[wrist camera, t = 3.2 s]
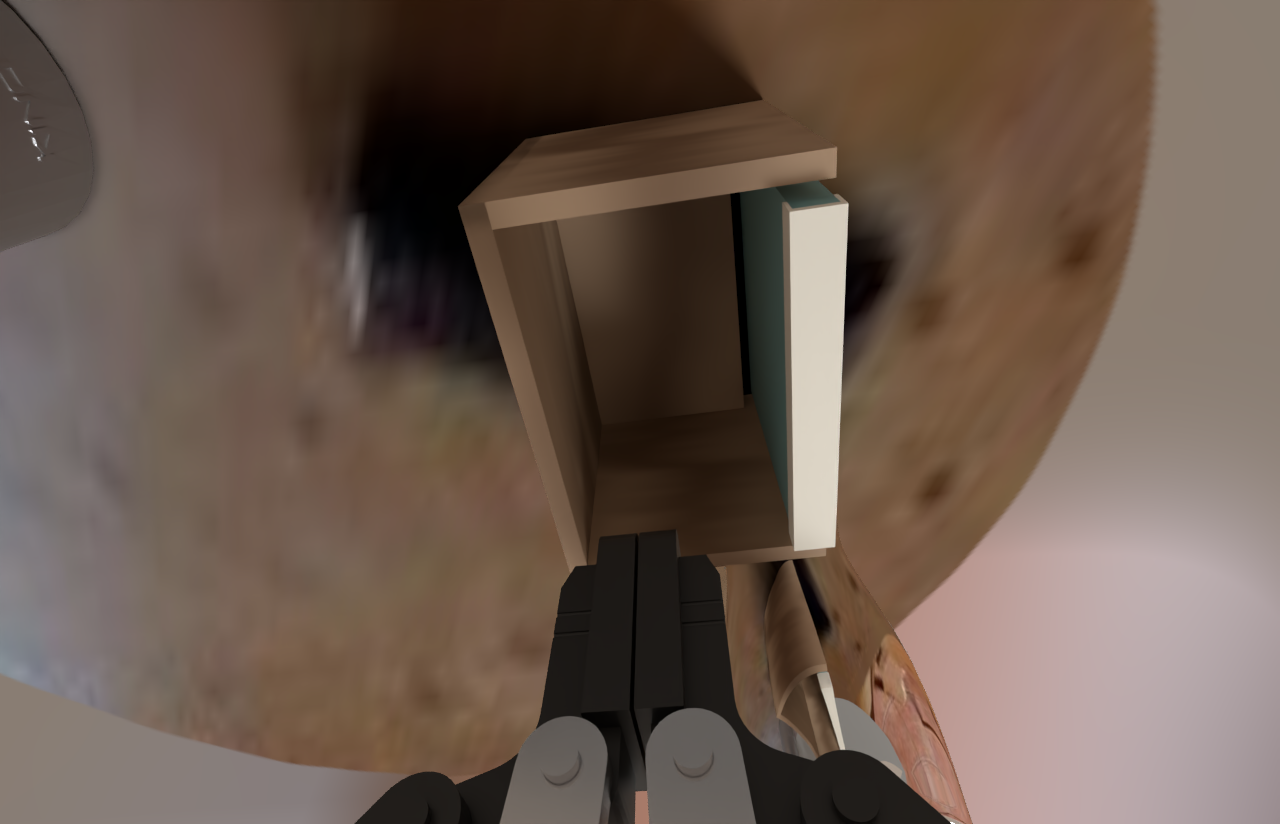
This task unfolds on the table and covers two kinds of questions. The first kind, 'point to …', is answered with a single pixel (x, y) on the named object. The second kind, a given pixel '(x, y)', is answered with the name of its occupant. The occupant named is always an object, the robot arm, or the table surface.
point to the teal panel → (798, 344)
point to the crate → (639, 323)
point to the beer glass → (832, 673)
